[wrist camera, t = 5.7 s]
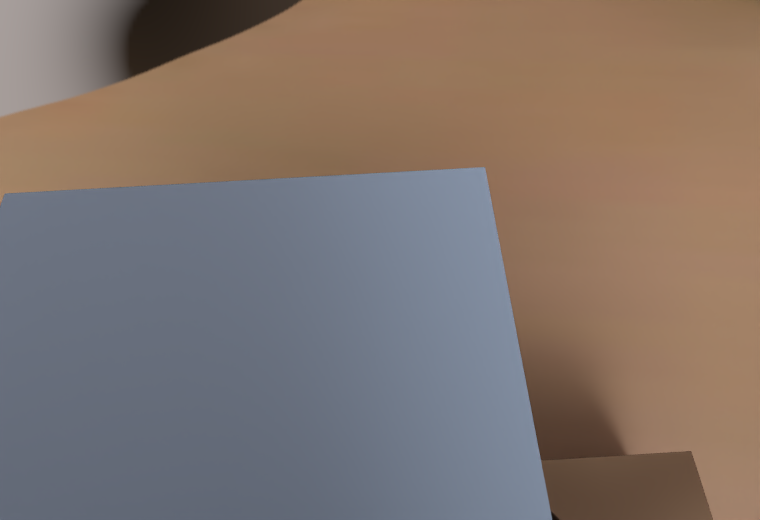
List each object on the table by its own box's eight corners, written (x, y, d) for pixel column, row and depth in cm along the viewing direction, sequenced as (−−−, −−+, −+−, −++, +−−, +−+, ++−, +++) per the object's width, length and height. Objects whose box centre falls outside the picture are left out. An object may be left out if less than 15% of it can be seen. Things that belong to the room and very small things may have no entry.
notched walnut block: (650, 538, 17) (722, 549, 13) (188, 567, 16) (132, 587, 13) (629, 460, 18) (691, 451, 14) (196, 486, 18) (147, 484, 14)
